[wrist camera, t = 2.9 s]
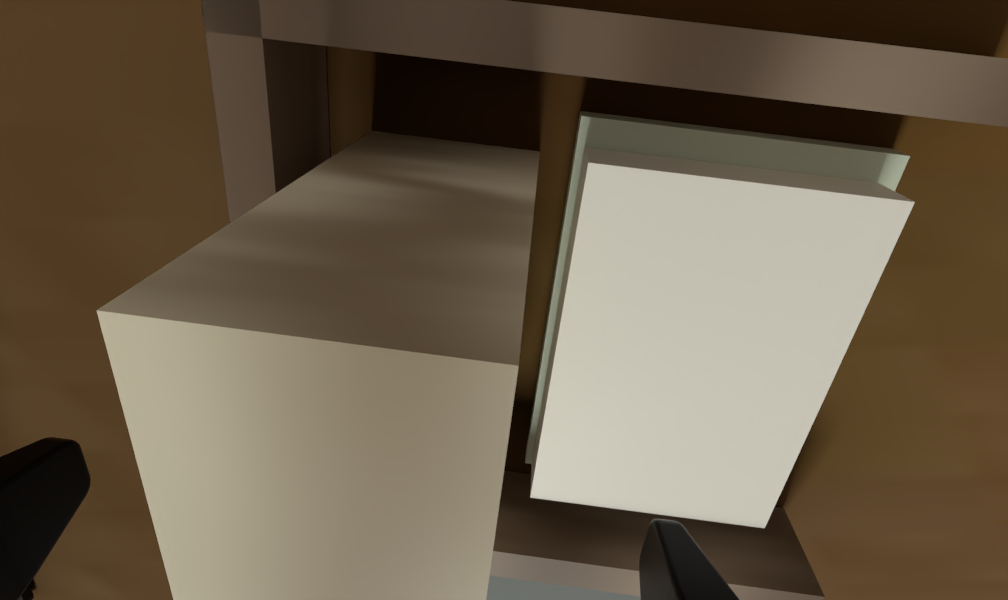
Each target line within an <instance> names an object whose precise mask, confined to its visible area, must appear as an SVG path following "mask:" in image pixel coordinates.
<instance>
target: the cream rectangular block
mask: <svg viewBox="0 0 1008 600" xmlns="http://www.w3.org/2000/svg"><path fill="white" fill-rule="evenodd" d="M539 155H540V151H533V150H524V149H516V148H508V147H500V146H492V145H484V144H475V143H467V142H459V141H451V140H443V139H434V138H426V137H418V136H410V135H402V134H394V133H385V132H377V131H370V132H369V133H367V134H366V135H364V136H363V137H361V138H360V139H358V140H357V141H355V142H354V143H352V144H351V145H349V146H347V147H346V148H344V149H343V150H341V151H340V152H338V153H337V154H335V155H334V156H332V157H331V158H329V159H328V160H326V161H325V162H323V163H321V164H320V165H318V166H317V167H315V168H314V169H312V170H311V171H309V172H308V173H306V174H305V175H303V176H302V177H300V178H299V179H297V180H295V181H294V182H292V183H291V184H289V185H288V186H286V187H285V188H283V189H282V190H280V191H279V192H277V193H276V194H274V195H272V196H271V197H269V198H268V199H266V200H265V201H263V202H262V203H260V204H259V205H257V206H256V207H254V208H253V209H251V210H250V211H248V212H246V213H245V214H243V215H242V216H240V217H239V218H237V219H236V220H234V221H233V222H231V223H230V224H228V225H227V226H225V227H224V228H222V229H220V230H219V231H217V232H216V233H214V234H213V235H211V236H210V237H208V238H207V239H205V240H204V241H202V242H201V243H199V244H197V245H196V246H194V247H193V248H191V249H190V250H188V251H187V252H185V253H184V254H182V255H181V256H179V257H178V258H176V259H175V260H173V261H171V262H170V263H168V264H167V265H165V266H164V267H162V268H161V269H159V270H158V271H156V272H155V273H153V274H152V275H150V276H149V277H147V278H145V279H144V280H142V281H141V282H139V283H138V284H136V285H135V286H133V287H132V288H130V289H129V290H127V291H126V292H124V293H122V294H121V295H119V296H118V297H116V298H115V299H113V300H112V301H110V302H109V303H107V304H106V305H104V306H103V307H101V308H100V309H98V310H97V314H98V318H99V322H100V325H101V329H102V333H103V337H104V340H105V344H106V348H107V352H108V355H109V359H110V363H111V367H112V370H113V374H114V378H115V382H116V385H117V389H118V393H119V397H120V400H121V404H122V408H123V412H124V415H125V419H126V423H127V427H128V430H129V434H130V438H131V442H132V445H133V449H134V453H135V457H136V460H137V464H138V468H139V472H140V476H141V479H142V483H143V487H144V491H145V494H146V498H147V502H148V506H149V509H150V513H151V517H152V521H153V524H154V528H155V532H156V536H157V539H158V543H159V547H160V551H161V554H162V558H163V562H164V566H165V569H166V573H167V577H168V581H169V584H170V588H171V592H172V596H173V599H174V600H486V597H487V590H488V583H489V576H490V569H491V562H492V554H493V547H494V540H495V533H496V526H497V518H498V511H499V504H500V497H501V490H502V483H503V475H504V468H505V461H506V454H507V447H508V439H509V432H510V425H511V418H512V411H513V403H514V396H515V389H516V382H517V375H518V368H519V358H520V348H521V338H522V328H523V318H524V307H525V297H526V287H527V277H528V267H529V257H530V247H531V236H532V226H533V216H534V206H535V196H536V186H537V176H538V165H539Z"/></svg>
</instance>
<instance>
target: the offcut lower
mask: <svg viewBox="0 0 1008 600" xmlns="http://www.w3.org/2000/svg"><path fill="white" fill-rule="evenodd" d="M584 147H588V148H596V149H604V150H613V151H621V152H629V153H637V154H646V155H654V156H662V157H671V158H679V159H687V160H696V161H704V162H712V163H720V164H729V165H737V166H745V167H754V168H762V169H770V170H778V171H787V172H795V173H803V174H812V175H820V176H828V177H836V178H845V179H853V180H861V181H870V182H878V183H880V184H882V185H883V186H885V187H887V188H889V189H891V190H893V191H895V190H896V187H897V185H898V183H899V180H900V178H901V176H902V174H903V171H904V169H905V167H906V164H907V162H908V160H909V158H910V156H909V155H907V154H904V153H902V152H899V151H897V150H894V149H891V148H883V147H875V146H866V145H858V144H850V143H842V142H833V141H825V140H817V139H809V138H800V137H792V136H784V135H776V134H767V133H759V132H751V131H743V130H734V129H726V128H718V127H710V126H701V125H693V124H685V123H677V122H668V121H660V120H652V119H644V118H635V117H627V116H619V115H611V114H602V113H594V112H586V111H580V115H579V121H578V127H577V133H576V140H575V146H574V152H573V158H572V165H571V171H570V177H569V183H568V189H567V196H566V202H565V208H564V214H563V221H562V227H561V233H560V239H559V246H558V252H557V258H556V264H555V271H554V277H553V283H552V289H551V296H550V302H549V308H548V314H547V321H546V327H545V333H544V339H543V346H542V352H541V358H540V364H539V371H538V377H537V383H536V389H535V396H534V402H533V408H532V414H531V420H530V427H529V433H528V439H527V445H526V457H525V463H528V464H532V456H533V450H534V444H535V438H536V432H537V426H538V420H539V414H540V408H541V402H542V396H543V390H544V384H545V378H546V373H547V367H548V361H549V355H550V349H551V343H552V337H553V331H554V325H555V319H556V313H557V307H558V301H559V295H560V289H561V283H562V277H563V271H564V265H565V259H566V253H567V248H568V242H569V236H570V230H571V224H572V218H573V212H574V206H575V200H576V194H577V188H578V182H579V176H580V170H581V164H582V158H583V152H584Z"/></svg>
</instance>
